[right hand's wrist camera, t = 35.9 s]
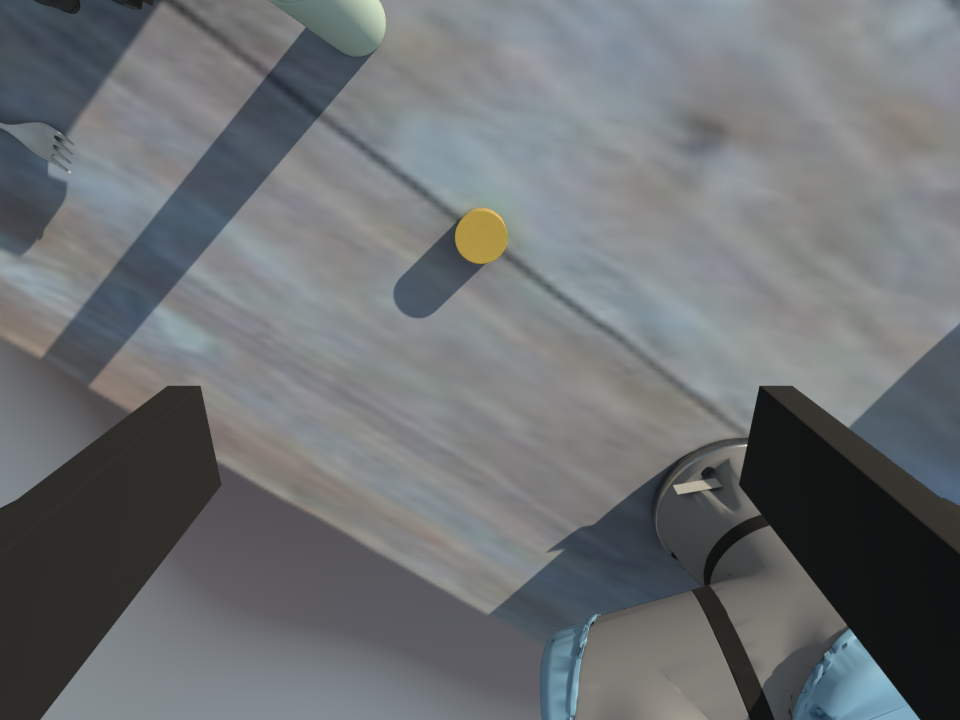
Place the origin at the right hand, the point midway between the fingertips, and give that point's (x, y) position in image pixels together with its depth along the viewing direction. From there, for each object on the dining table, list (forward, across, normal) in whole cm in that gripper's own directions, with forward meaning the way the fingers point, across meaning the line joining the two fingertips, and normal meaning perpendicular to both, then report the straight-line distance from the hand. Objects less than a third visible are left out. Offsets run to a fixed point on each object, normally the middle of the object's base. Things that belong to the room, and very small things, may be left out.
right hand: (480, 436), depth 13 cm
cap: (+31, 0, 0) cm, 31 cm away
